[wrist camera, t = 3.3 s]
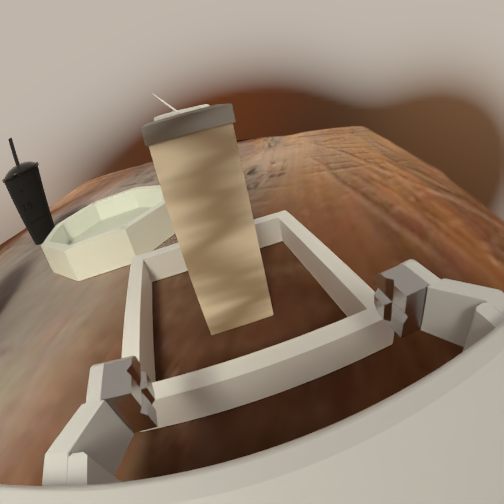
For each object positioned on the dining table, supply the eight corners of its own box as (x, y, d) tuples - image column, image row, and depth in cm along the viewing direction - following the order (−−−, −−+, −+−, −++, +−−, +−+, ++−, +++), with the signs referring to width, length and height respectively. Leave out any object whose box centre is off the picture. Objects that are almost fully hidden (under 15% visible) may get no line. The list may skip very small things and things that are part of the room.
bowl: (42, 293, 32) (27, 265, 30) (74, 234, 48) (65, 213, 46) (184, 247, 34) (173, 213, 33) (175, 199, 50) (169, 176, 49)
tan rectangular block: (209, 337, 21) (140, 128, 15) (200, 299, 26) (145, 124, 19) (276, 315, 22) (231, 103, 15) (257, 281, 26) (216, 104, 20)
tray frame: (140, 431, 15) (119, 407, 14) (140, 279, 30) (131, 257, 29) (392, 343, 17) (396, 312, 16) (289, 232, 32) (285, 210, 31)
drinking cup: (29, 241, 52) (-6, 148, 42) (61, 225, 55) (29, 131, 46) (28, 252, 46) (-11, 147, 37) (64, 233, 50) (27, 128, 40)
